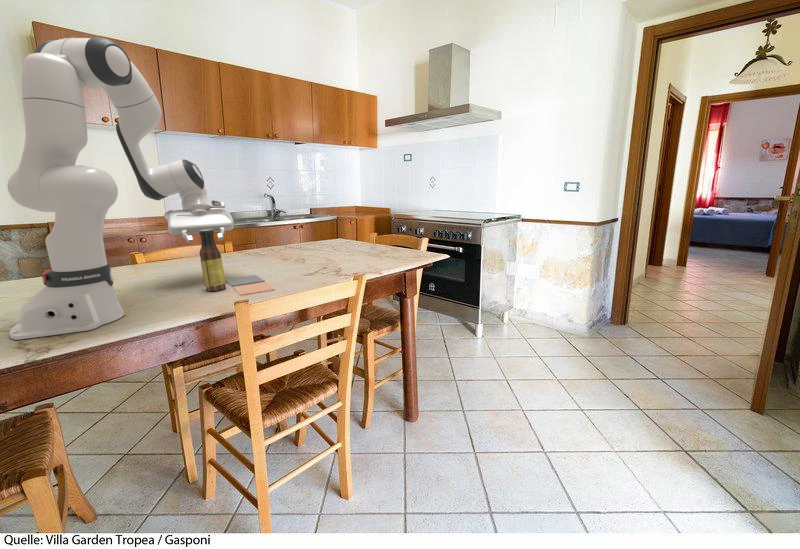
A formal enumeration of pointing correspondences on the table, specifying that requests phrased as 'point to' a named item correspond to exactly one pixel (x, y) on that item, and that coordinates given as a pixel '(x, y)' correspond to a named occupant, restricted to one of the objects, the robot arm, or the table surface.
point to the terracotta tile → (253, 288)
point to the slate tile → (244, 280)
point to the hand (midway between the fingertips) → (205, 240)
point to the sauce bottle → (211, 262)
